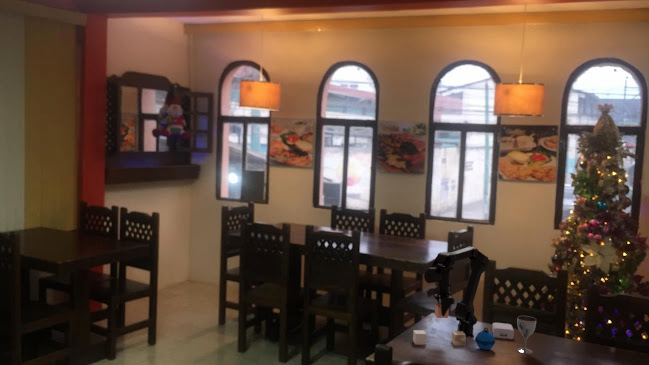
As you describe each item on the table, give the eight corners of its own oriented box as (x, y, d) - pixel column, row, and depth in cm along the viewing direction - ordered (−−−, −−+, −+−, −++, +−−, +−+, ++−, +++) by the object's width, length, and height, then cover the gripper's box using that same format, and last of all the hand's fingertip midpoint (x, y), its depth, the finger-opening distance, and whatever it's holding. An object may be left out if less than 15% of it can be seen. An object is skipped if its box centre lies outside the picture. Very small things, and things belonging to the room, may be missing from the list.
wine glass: (533, 349, 275) (536, 317, 274) (533, 355, 267) (536, 322, 266) (515, 346, 278) (517, 314, 276) (514, 352, 270) (517, 319, 269)
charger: (510, 329, 302) (513, 339, 288) (490, 327, 304) (493, 337, 289) (510, 320, 302) (514, 330, 287) (491, 318, 304) (494, 327, 289)
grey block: (423, 340, 280) (424, 330, 280) (426, 344, 275) (426, 334, 275) (412, 340, 280) (413, 330, 279) (415, 344, 275) (415, 333, 274)
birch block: (461, 341, 281) (462, 331, 281) (465, 345, 276) (465, 334, 276) (451, 341, 281) (452, 331, 281) (454, 345, 276) (454, 334, 276)
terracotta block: (445, 314, 282) (446, 304, 281) (448, 318, 277) (448, 307, 276) (434, 314, 281) (435, 303, 281) (437, 317, 276) (438, 307, 276)
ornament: (494, 347, 275) (495, 326, 274) (494, 354, 267) (495, 331, 266) (474, 344, 278) (476, 323, 277) (474, 351, 269) (475, 329, 268)
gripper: (421, 275, 286) (419, 307, 288) (431, 285, 268) (428, 320, 269) (445, 275, 287) (443, 308, 288) (455, 286, 268) (453, 320, 270)
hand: (441, 313), depth 279 cm, fingers closed on terracotta block, 5 cm apart
